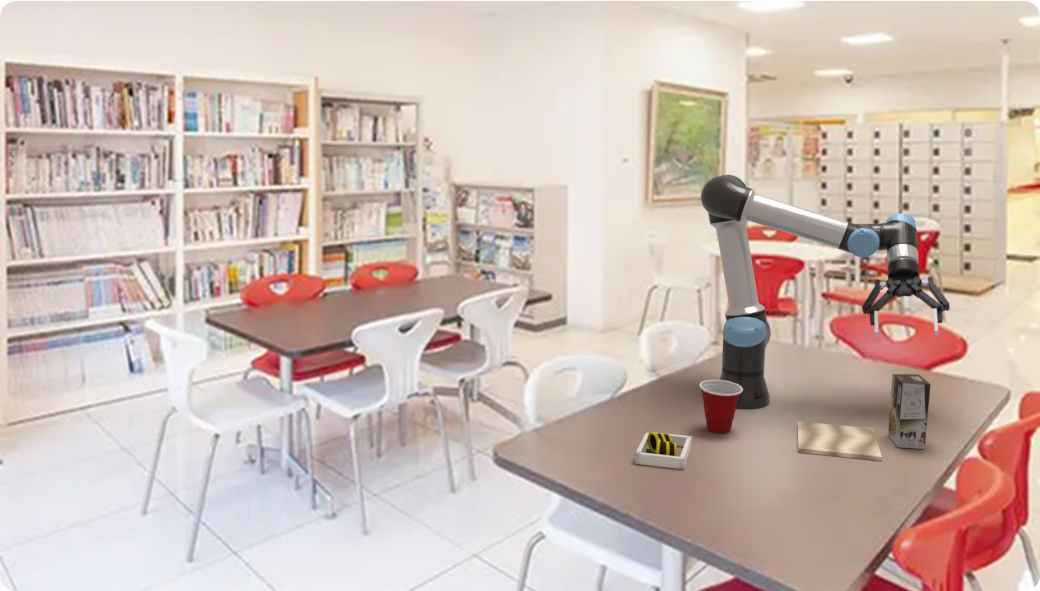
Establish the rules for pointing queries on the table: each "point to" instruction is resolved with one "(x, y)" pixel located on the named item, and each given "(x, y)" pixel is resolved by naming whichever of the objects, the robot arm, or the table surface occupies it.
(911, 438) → the coffee box
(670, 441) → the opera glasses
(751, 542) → the table surface
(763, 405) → the robot arm
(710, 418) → the plastic cup
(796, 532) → the table surface
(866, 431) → the birch board
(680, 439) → the white tray rim
